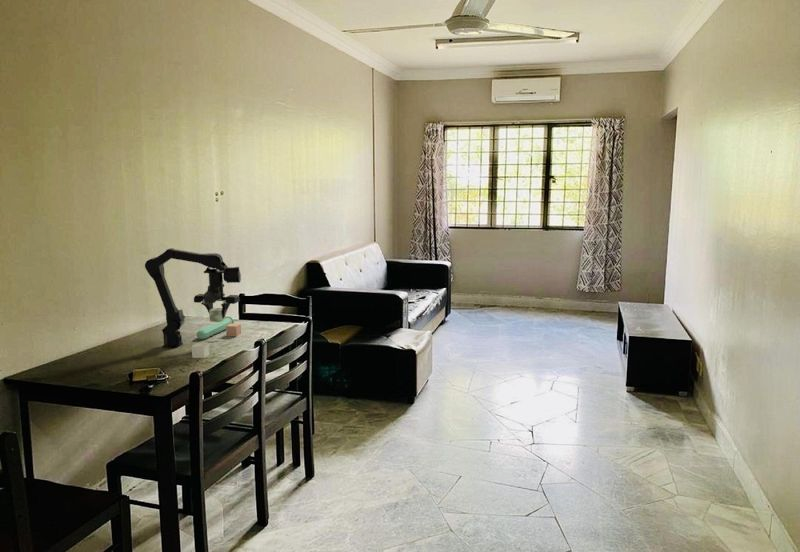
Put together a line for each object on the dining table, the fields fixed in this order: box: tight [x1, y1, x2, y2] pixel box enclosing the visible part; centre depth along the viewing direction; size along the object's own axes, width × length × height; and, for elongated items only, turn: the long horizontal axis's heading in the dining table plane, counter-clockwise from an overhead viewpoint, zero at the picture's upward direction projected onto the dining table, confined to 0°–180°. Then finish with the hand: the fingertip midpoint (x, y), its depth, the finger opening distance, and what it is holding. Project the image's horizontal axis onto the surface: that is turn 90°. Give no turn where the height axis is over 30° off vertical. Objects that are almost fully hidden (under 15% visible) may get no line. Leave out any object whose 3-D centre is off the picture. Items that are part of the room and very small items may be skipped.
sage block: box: [208, 307, 227, 323], centre depth 259 cm, size 5×5×5 cm
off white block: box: [191, 342, 210, 359], centre depth 244 cm, size 5×5×5 cm
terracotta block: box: [225, 323, 242, 337], centre depth 276 cm, size 5×5×5 cm
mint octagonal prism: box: [196, 316, 235, 340], centre depth 279 cm, size 6×6×25 cm
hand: (217, 318), depth 259 cm, fingers closed on sage block, 5 cm apart
